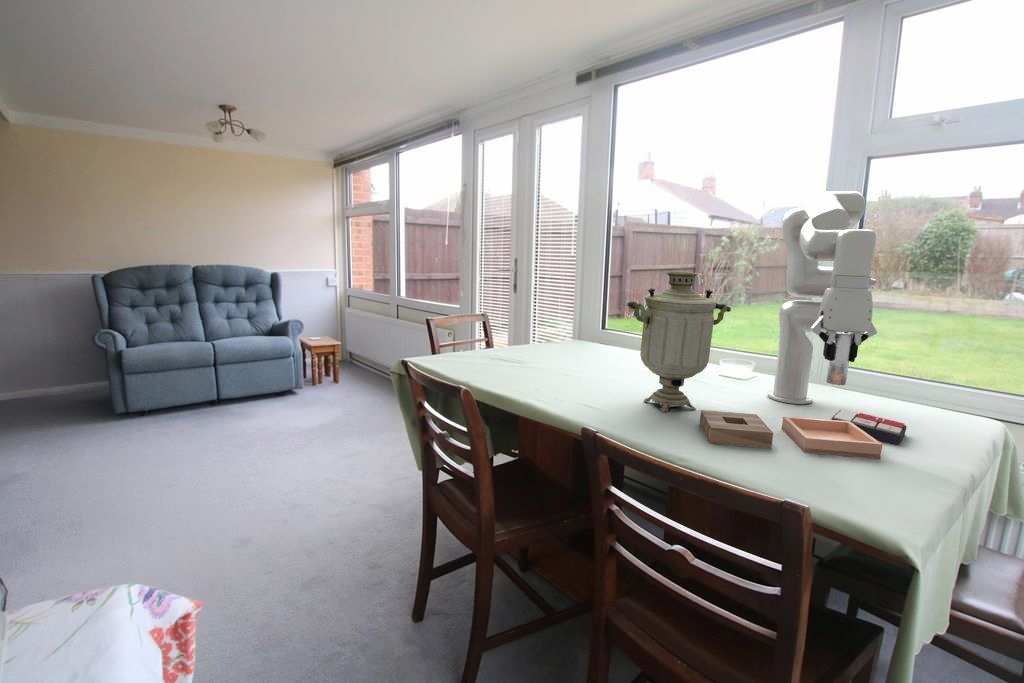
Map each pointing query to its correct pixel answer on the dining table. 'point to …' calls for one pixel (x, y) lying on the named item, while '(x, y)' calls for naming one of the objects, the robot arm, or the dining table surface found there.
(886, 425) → the calculator
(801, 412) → the dining table surface
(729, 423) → the wooden square hole block
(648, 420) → the dining table surface
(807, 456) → the dining table surface
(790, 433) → the tray
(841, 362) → the pin
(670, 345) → the samovar
